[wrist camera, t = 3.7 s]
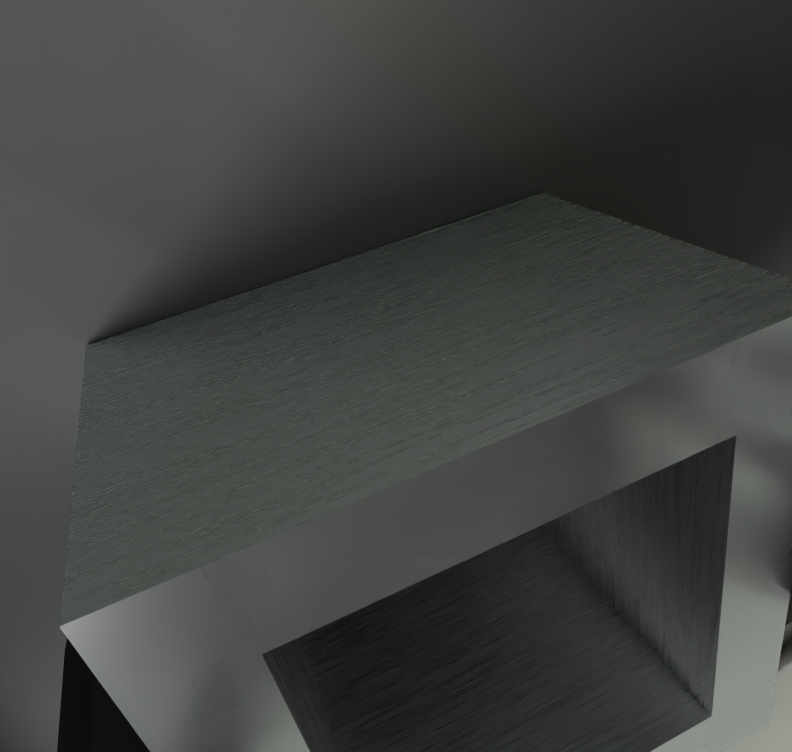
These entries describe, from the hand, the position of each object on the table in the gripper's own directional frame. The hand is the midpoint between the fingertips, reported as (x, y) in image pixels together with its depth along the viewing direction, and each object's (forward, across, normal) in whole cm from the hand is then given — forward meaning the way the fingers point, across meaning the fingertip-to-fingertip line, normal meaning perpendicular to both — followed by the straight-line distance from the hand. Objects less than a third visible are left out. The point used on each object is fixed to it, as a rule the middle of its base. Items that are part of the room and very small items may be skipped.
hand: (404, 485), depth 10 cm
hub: (+1, 0, 0) cm, 1 cm away
